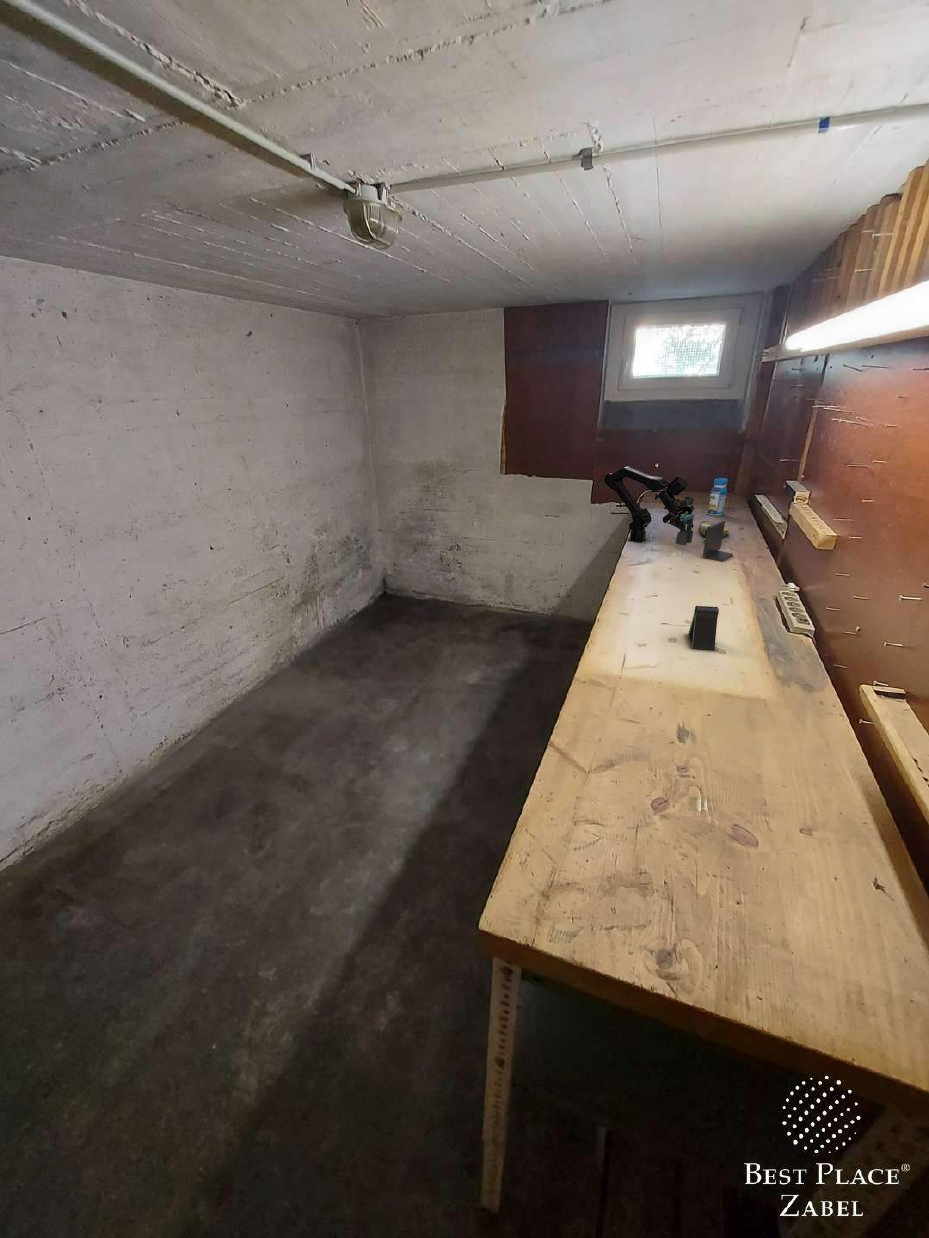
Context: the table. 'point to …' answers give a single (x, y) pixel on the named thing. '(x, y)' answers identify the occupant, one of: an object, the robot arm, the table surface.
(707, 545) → the dark panel
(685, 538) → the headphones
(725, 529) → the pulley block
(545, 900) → the table surface
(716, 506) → the beverage bottle
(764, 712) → the table surface
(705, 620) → the phone stand
